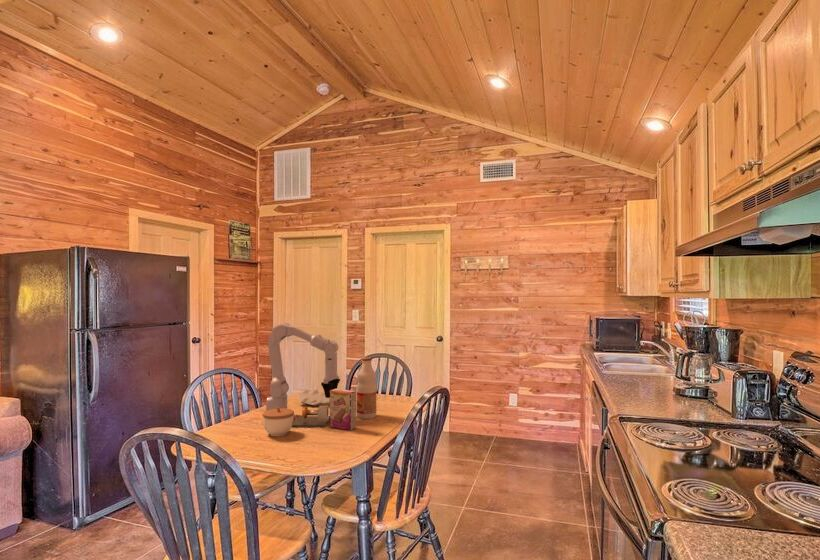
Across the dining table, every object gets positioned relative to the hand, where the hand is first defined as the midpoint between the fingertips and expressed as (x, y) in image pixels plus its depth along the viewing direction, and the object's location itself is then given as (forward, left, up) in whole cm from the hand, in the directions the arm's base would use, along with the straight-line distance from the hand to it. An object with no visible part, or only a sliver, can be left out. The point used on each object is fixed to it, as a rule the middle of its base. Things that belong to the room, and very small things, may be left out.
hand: (330, 395), depth 222 cm
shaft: (-6, -10, -8) cm, 14 cm away
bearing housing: (-7, -10, -10) cm, 16 cm away
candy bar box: (+8, -18, -10) cm, 22 cm away
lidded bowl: (-18, -26, -10) cm, 33 cm away
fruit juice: (+17, 0, -10) cm, 20 cm away
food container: (-6, +21, -10) cm, 24 cm away
